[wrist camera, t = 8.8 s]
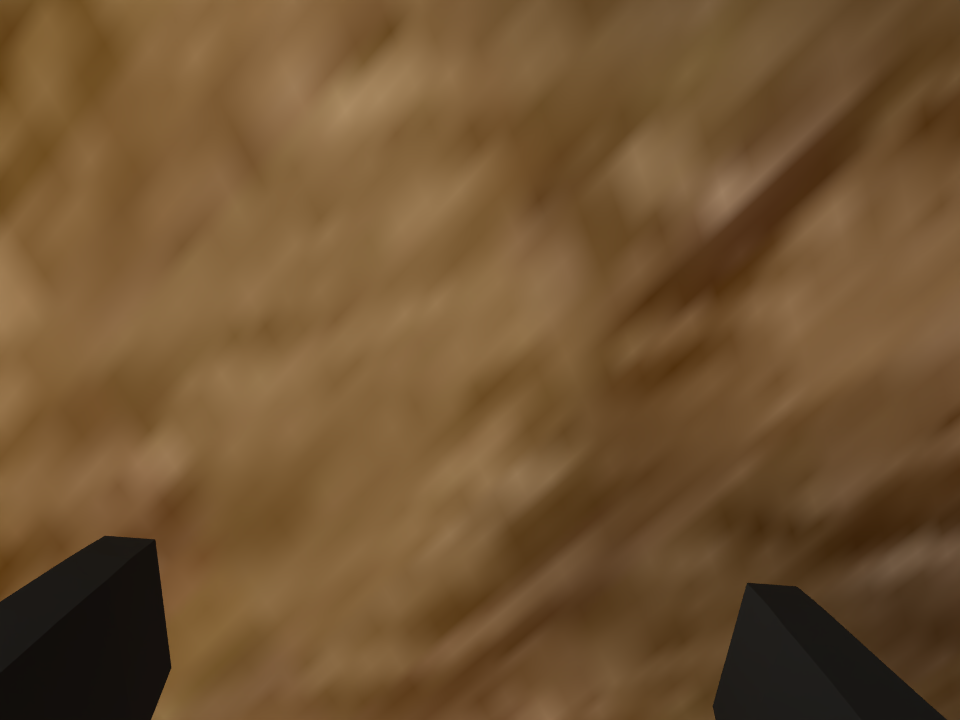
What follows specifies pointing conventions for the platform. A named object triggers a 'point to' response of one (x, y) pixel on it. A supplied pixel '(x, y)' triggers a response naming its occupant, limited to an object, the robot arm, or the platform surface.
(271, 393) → the platform surface
